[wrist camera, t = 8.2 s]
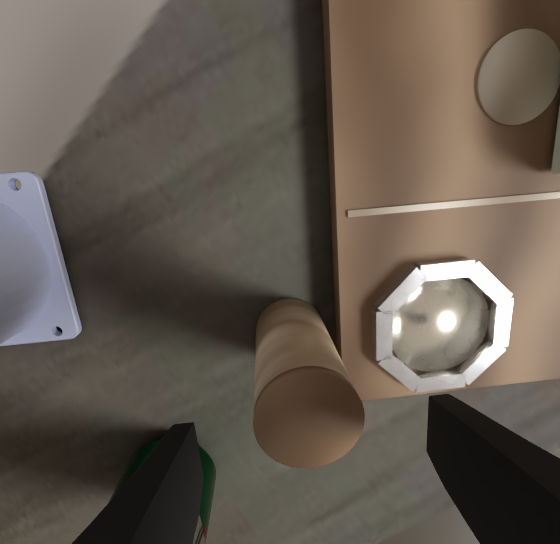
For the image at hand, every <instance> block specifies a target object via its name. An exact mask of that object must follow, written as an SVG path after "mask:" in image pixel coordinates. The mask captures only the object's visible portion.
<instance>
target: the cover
mask: <svg viewBox="0 0 560 544" xmlns="http://www.w3.org/2000/svg"><path fill="white" fill-rule="evenodd" d="M556 173H560V107H559V115H558V122H557V130H556V138H555V145H554V153H553V160H552V168H551V174H556Z"/></svg>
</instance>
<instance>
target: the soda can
mask: <svg viewBox="0 0 560 544" xmlns="http://www.w3.org/2000/svg"><path fill="white" fill-rule="evenodd" d="M161 439H162V438H161ZM161 439H158V440H155V441H152V442H150V443H147V444H145V445H144V446H142V447H141V448H139V449H138V450H137V451H136V452H135V453H134V454H133V455H132V457H131V458H130V460H129V462H128V464H127V466H126V468H125V470H124V472H123V474H122V476H121V478H120V480H119V482H118V484H117V487H116V489H115V491H114V493H113V495H112V497H111V499H110V501H111V500H112V499H113V498H114V497H115V495H116V494H117V493H118V492H119V491H120V490H121V488H122V487H123V486H124V485H125V484H126V482H127V481H128V480H129V479H130V478H131V476H132V475H133V474H134V473H135V472H136V470H137V469H138V468H139V467H140V466H141V464H142V463H143V462H144V461H145V459H146V458H147V457H148V456H149V454H150V453H151V452H152V451H153V449H154V448H155V447H156V445H157V444H158V443H159V442H160V440H161ZM198 448H199V454H200V459H201V465H202V470H203V476H204V479H203V488H202V496H201V504H200V511H199V518H198V522H197V527H196V531H195V536H194V540H193V544H206V537H207V531H208V525H209V518H210V512H211V505H212V499H213V492H214V486H215V480H216V470H215V466H214V463H213V461H212V459H211V458H210V456H209V455H208V454H207V452H206V451H205V450H204V449H203V448H202V447H200V446H199V445H198ZM110 501H109V502H110Z"/></svg>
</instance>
